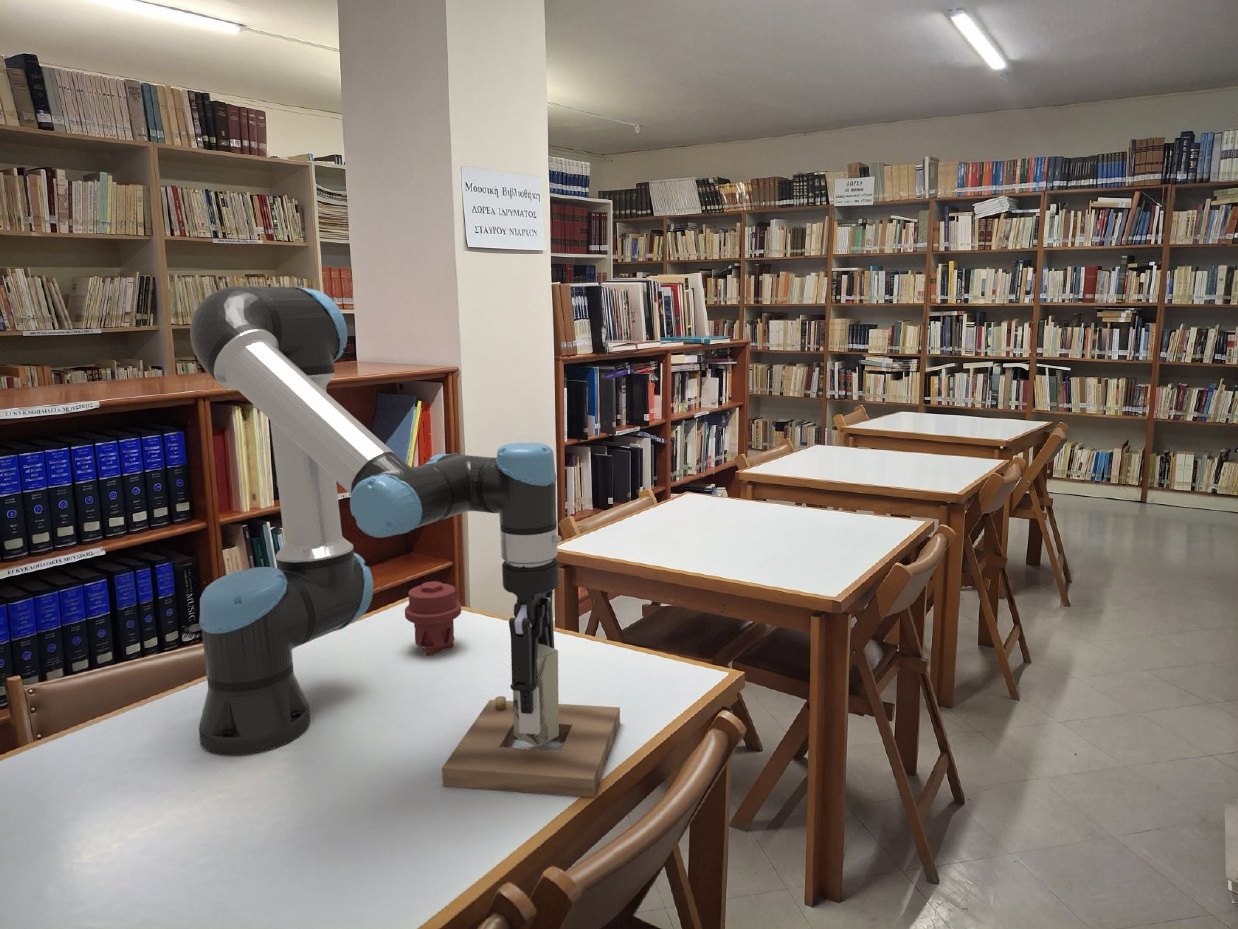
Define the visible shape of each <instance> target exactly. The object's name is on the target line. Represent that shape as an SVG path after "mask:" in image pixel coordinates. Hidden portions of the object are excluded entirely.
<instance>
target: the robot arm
mask: <svg viewBox="0 0 1238 929" xmlns="http://www.w3.org/2000/svg"><path fill="white" fill-rule="evenodd" d="M189 327H190V328H189V330H190V331H189V333H190V336H189V337H190V339H189V340H190V343H191V348H192V349H193V353H194V355H195V356H196V360H198V362H199V363H200V365H201V366H202V368H203V369H204V370H205V371H206V372H207V373H208V374H209V376H211V378H212V379H214V380H215V381H216V382H217V383H218V384H219V385H220V386H221V387H223V388H225V389H227V390H231V391H237V392H239V393H240V394H242V396H244V397H245V398H246V399H247V400H248V401H249V403H251V404H252V405H254V407H256V409H258V410H259V411H260V412H261V413H262V414H263V415H264V416H265V417H267V419H268V420H269V422H270V432H271V438H272V439H271V440H272V447H273V449H272V450H273V457H274V464H275V472H276V482H277V488H278V489H277V490H278V497H279V507H280V514H281V523H282V525H281V526H282V532H283V540H284V544H283V546H282V547H281V548H280V549H279V550H278V551H277V553H276V554H275V561H276V567H273V566H272V567H271V566H259V567H258V566H257V567H250V568H249V569H246V570H243V569H241V570H238V571H234V572H231V573H228V574H225V575H223V576H221V577H219V578H217V579H216V580H213V581H212V582H211V583H209V585H207V586H206V587H205V589H204V590H203V591H202V593H201V596H200V598H199V626H200V627H201V628H200V629H201V635H202V636H201V637H202V645H203V652H204V662H205V663H204V664H205V670H206V679H207V692H206V696H205V700H204V704H203V708H202V714H201V717H200V720H199V724H198V731H199V732H198V733H199V741H200V742H199V743H200V746H201V747H203V749H204V750H206V751H208V752H211V753H214V754H218V755H227V756H228V755H229V756H236V755H237V756H238V755H249V754H250V755H251V754H256V753H260V752H264V751H265V752H266V751H269V750H271V749H275V748H277V747H280V746H284V745H285V744H287V743H289V742H292V741H293V740H295V739H297V738H298V737H300V736H301V735H302V734H304V733H305V732H306V731H307V729H308V728H309V727H310V724H311V712H310V711H311V709H310V704H309V702H308V700H307V699H306V696H305V694H304V692H303V690H302V688H301V686H300V682H299V681H298V679H297V677H296V675H295V671H294V663H293V662H294V661H293V659H294V658H293V650H294V649H296V648H298V647H299V646H302V645H305V644H307V643H309V642H311V641H314V640H316V639H318V638H322V637H324V636H325V635H328V634H331V633H333V632H337V631H340V630H343V629H345V628H346V627H348V626H349V625H350V624H352V623H354V622H356V621H358V620H359V619H360V618H362V617H363V616H364V614H365V613H366V612H367V611H368V609H369V607H370V605H371V602H372V599H373V593H374V579H373V575H372V572H371V569H370V567H369V566H367V565H366V561H365V559H364V558H363V557H362V556H361V555H360V554H358V553H356V552H355V550H354V544H353V543H352V542H350V541H348V539H346V538H344V536H343V532H342V525H341V524H342V523H341V514H340V506H339V495H338V494H339V493H338V488H337V483H338V484H339V485H340V486H341V487H342V488H344V490H345V491H346V492H347V493H349V494H350V499H349V507H350V512H351V516H352V517H354V519H355V521H356V523H355V524H356V525H357V527H358V528H359V529H360V530H361V531H362V532H363V533H364V534H366V535H368V536H371V537H373V538H387V537H392V536H395V535H402V534H406V533H409V532H410V531H412V530H414V529H418V528H421V527H422V526H427V525H429V524H433V523H435V522H438V521H442V520H445V519H449V518H451V517H454V516H457V515H460V514H463V513H466V512H479V513H480V512H481V513H487V514H489V513H490V514H499V525H500V528H499V529H500V533H499V534H500V557H501V558H502V560H504V561H503V563H502V564H501V573H502V586H503V589H504V590H505V591H506V592H508V593H511V594H513V595H515V597H516V602H515V603H514V606H513V616H514V617H510V618H509V619H508V626H509V633H510V655H511V657H510V659H511V662H510V663H511V684H510V689H511V690H512V692H513V691H518V710H519V733H525V734H539V733H540V707H539V686H536V675H537V651H538V643H539V644H543V645H546V646H548V647H551V648H554V649H555V635H554V634H555V633H554V631H555V630H554V617H553V594H554V592H553V591H554V590H555V589H557V588H558V586H559V585H560V577H559V576H560V570H559V567H560V566H559V561H558V559H557V558H556V557H557V556H558V551H559V550H558V544H559V543H561V542H562V536H561V535H559V534H557V533H558V532H557V531H558V528H557V526H558V524H557V521H558V520H557V498H556V496H557V494H556V493H557V490H556V489H557V487H556V485H557V481H558V480H557V474H556V466H555V454H554V450H553V449H552V447H551V446H549V445H547V444H545V443H540V442H513V443H507V444H503V445H501V446H500V447H499V448H498V449H497V450H496V451H497V452H496V457H491V456H490V457H489V456H482V455H481V456H479V455H468V454H467V455H466V454H461V453H457V452H456V453H455V452H453V453H449V454H448V453H446V454H445V453H442V454H441V453H440V454H439V453H438V454H435V455H433V456H431V457H430V458H429V460H428V461H426V463H424V464H422V465H418V466H413V467H412V466H410V465H409V464H408V463H406V462H405V460H403V459H402V458H401V457H399V456H398V455H397V454H396V453H395V452H394V451H393V450H392V449H391V448H390V447H388V446H387V445H386V444H385V443H384V442H383V441H382V440H380V439H379V438H378V436H376V435H374V433H372V431H370V430H369V429H367V427H366V426H365V425H364V424H362V422H361V421H360V420H358V419H357V418H356V417H354V416H353V415H352V414H351V413H350V412H349V411H348V410H347V409H346V408H345V407H343V406H342V405H341V404H340V403H339V402H338V401H336V400H335V398H333V397H332V396H331V395H330V394H328V393H327V386H328V384H329V382H331V380H332V379H333V378H334V377H335V376H336V372H335V364H334V363H335V362H336V361H337V360H338V359H339V358H341V356H342V355H343V353H344V349H346V347H347V342H348V329H347V324H346V321H345V318H344V315H343V313H342V311H341V309H340V308H339V306H338V305H337V304H336V302H335V301H333V300H332V299H331V298H330V297H329V296H328V295H327V294H326V293H324V292H322V291H319V290H317V289H312V288H305V287H300V286H289V287H288V286H287V287H285V286H282V287H281V286H278V287H276V286H274V287H273V286H271V287H270V286H245V285H243V286H239V285H235V286H234V285H233V286H226V287H224V288H221V289H217V290H216V291H213V292H212V293H210V294H209V295H208V296H206V297H205V298H204V299H203V300H202V301H201V302H200V303H199V305H197V307H196V309H195V310H194V313H193V315H192V317H191V322H190V325H189Z"/></svg>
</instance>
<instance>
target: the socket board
mask: <svg viewBox="0 0 1238 929" xmlns="http://www.w3.org/2000/svg"><path fill="white" fill-rule="evenodd" d="M558 704H559V706H558V707H559V736H557V737H556V738H554V739H552V740H551V741H553V740H554V741H564V742H563V745H562V747H561V748H560V750H549V749H547V750H546V749H537V748H536V749H533V748H521V747H518V748H517V747H511V746H512V744H513V742H514V741H515V738H516V737H515V736H514V712H513V700H507V697H506V696H503V695H502V696H496V697H495V698H494V699H489V700H488V702H487V703H486V704H485V706H484V707H483V709H482V710H481V712H480V713H479V714H478V716H477V717H476V718H475V720H474V721H473V723H472V725H471V726H470V727H469V728H468V730H467V732H466V733H465V734H464V736H463V737H462V739H461V740H460V741H459V742H458V744H457V746H456V747H455V748H454V750H453V751H452V753H451V754H450V756H449V757H448V759H447V760H446V761H445V762H444V764H443V765H442V767H441V779H442V786H444V787H453V788H454V787H456V788H457V787H458V788H465V789H466V788H467V789H469V788H471V789H483V790H491V791H492V790H494V791H504V792H505V791H506V792H519V793H533V794H544V795H545V794H547V795H557V796H558V795H560V796H570V797H571V796H572V797H583V798H595V795H596V793H597V789H598V787H599V784H600V781H601V778H602V775H603V773H604V770H605V768H606V765H607V761H608V758H609V755H610V752H611V750H612V748H613V745H614V742H615V738H616V736H617V733H618V731H619V727H620V725H621V715H620V714H621V709H620V708H621V707H615V706H602V705H601V706H600V705H585V704H584V705H583V704H568V703H566V704H565V703H558Z"/></svg>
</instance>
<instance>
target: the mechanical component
mask: <svg viewBox="0 0 1238 929" xmlns="http://www.w3.org/2000/svg"><path fill="white" fill-rule="evenodd" d="M456 591H457V590H456V587H455V586H454V585H451V584H448V583H442V582H440V581H436V580H435V581H434V580H433V581H427V582H423V583H422V584H421V585H417V586H415V587H413V588H411V589H410V590H408V605H407V606H406V607H405V608H404V618H405V619H406V620H407V621H408V622H410V623H412V624H414V626H413V627H414V642H415V645H416V646H417V647H419V648H423V649H424V654H425V656H428V657H431V656H433V655H435V654H437V653H439V652H442V651H445V650H448V649H452V648H453V647H455V646H454V644H455V643H454V641H455V635H454V634H455V626H454V624H455V623H454V620H455V619H457V618H458V617H459V616H460V615H461V614H462V603H460V602H459V600H457V595H456V594H457V593H456Z"/></svg>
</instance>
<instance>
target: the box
mask: <svg viewBox="0 0 1238 929" xmlns="http://www.w3.org/2000/svg"><path fill="white" fill-rule="evenodd" d="M536 686H539V707H540V733H539V734H525V733H519V710H518V691H513V690H512V701H513V712H514V736H515V738H518V739H520V740H521V741H524V742H526V743H528V744H530V745H532V746H534V747H541V746H542V745H544V744H546V743H548V742H550V741H553V740H552V739H554V738H556V737H557V736H559V707H558V706H559V704H560V703H559V650H558V649H556V648H555V647H554V648H551V647H548V646H546V645H543V644H539V643H538V651H537V675H536Z"/></svg>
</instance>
